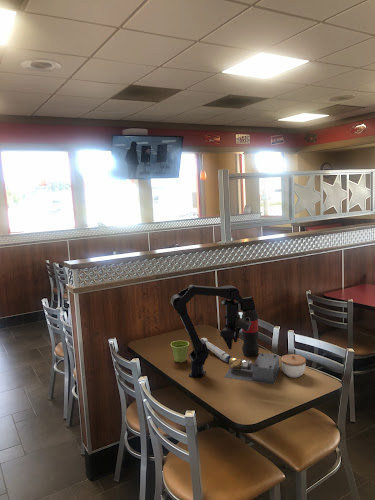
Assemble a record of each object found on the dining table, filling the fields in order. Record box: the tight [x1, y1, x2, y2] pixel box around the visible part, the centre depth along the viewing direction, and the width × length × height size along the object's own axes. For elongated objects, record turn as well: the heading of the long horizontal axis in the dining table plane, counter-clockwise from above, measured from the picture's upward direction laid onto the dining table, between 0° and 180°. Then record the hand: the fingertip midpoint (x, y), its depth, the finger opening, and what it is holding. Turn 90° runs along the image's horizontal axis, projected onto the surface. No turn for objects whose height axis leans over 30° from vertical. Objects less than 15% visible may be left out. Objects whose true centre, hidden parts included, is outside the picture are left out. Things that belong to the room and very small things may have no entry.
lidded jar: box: [280, 353, 307, 379], centre depth 175 cm, size 11×11×9 cm
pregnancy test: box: [200, 337, 233, 363], centre depth 203 cm, size 5×7×25 cm
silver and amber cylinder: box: [228, 357, 253, 370], centre depth 181 cm, size 5×10×5 cm, turn 68°
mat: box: [223, 363, 282, 385], centre depth 180 cm, size 18×22×1 cm
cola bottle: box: [241, 299, 260, 358], centre depth 199 cm, size 8×8×30 cm
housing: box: [252, 352, 280, 383], centre depth 177 cm, size 16×9×7 cm, turn 158°
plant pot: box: [170, 340, 190, 363], centre depth 197 cm, size 9×9×9 cm
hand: (232, 345), depth 182 cm, fingers open, 9 cm apart
